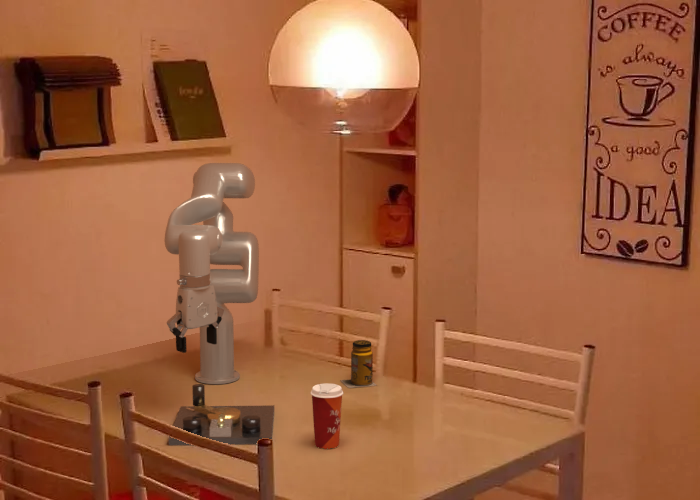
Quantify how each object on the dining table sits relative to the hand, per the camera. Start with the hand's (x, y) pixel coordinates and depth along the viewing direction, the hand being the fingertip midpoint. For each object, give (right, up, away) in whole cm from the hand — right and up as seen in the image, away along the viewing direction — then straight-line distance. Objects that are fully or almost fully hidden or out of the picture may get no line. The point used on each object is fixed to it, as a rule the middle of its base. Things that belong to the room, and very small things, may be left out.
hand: (196, 347), depth 260 cm
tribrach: (+7, -19, -4) cm, 21 cm away
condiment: (+41, -13, +33) cm, 54 cm away
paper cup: (+33, -22, -16) cm, 42 cm away
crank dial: (+5, -17, -2) cm, 18 cm away
